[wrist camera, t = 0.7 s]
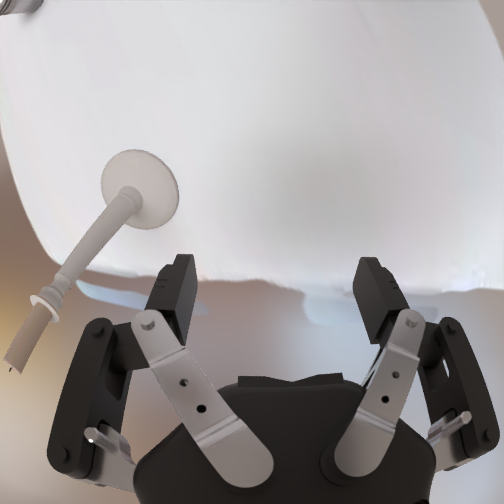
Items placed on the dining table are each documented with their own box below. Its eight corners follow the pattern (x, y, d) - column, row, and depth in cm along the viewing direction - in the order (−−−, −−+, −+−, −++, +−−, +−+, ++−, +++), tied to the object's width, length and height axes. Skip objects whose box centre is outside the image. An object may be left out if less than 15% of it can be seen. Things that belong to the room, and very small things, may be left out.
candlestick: (194, 210, 38) (101, 424, 14) (133, 237, 42) (41, 402, 19) (148, 133, 31) (-41, 307, 8) (89, 174, 35) (-46, 322, 12)
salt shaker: (35, -14, 12) (-4, -14, 5) (51, -14, 14) (10, -15, 7) (22, 12, 15) (-16, 17, 8) (37, 14, 17) (-4, 18, 10)
